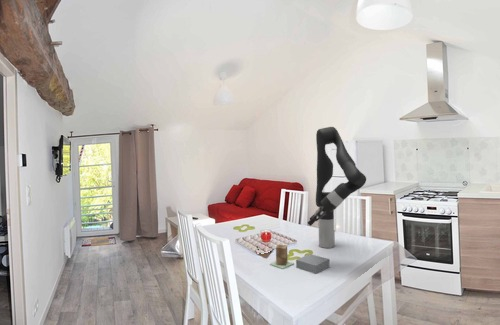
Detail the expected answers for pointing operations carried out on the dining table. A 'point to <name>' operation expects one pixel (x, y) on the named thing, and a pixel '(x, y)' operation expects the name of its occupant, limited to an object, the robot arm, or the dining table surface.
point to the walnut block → (281, 255)
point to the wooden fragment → (264, 254)
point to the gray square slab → (312, 263)
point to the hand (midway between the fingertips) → (309, 222)
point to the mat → (282, 265)
